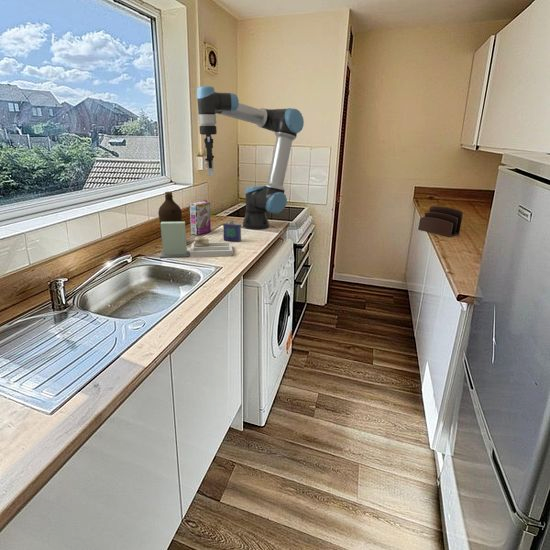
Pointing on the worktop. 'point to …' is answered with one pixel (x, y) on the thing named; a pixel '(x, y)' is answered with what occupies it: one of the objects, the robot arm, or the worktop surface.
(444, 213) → the letter holder
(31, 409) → the worktop surface
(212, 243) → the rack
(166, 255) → the mat
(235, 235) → the flask
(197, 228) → the candy bar box
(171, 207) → the olive oil
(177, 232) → the panel
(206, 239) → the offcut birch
